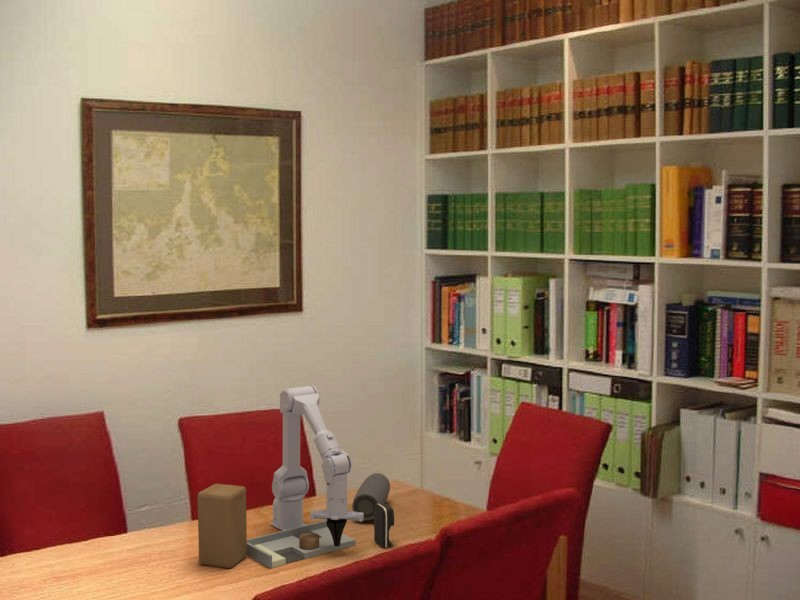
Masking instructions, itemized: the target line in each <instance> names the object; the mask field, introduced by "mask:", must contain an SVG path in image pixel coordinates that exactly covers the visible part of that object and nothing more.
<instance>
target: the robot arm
mask: <svg viewBox="0 0 800 600" xmlns="http://www.w3.org/2000/svg"><path fill="white" fill-rule="evenodd" d="M319 405H320V395H319V391H318V389H317V388H316V386H315V385H313V384H310V385H307V386H297V387H291V388H290V387H289V388H286V387H285V388H284V389H283V390H281V392H280V393H279V413H281V414H282V465H281V466H280V467H279V468H278V469H276V471H275V472H274V473H273V480H272V483H271V491H272V494H273V497H275V498H274V500H273V503H272V522H270V525H271V526H273V527H275V528H276V529H279V530H280V531H284V530H288V529H292V528H296V527H300V526H304V525H308V523H304V498H306V494H308V492H309V488H310V483H309V479H308V472H307V470H306V468H304V467H302V466H301V416H304V418H305V419H306V421H307V424H308V425H309V426H310V428H311V430H312V432H313V433H314V435H315V438H314V441H313V442H314V444H315V447H316V448H317V452H318V453H319V454H320V457H321V459H322V463H321V469H322V472H323V476H324V477H323V478H324V482H325V483H326V485H325V486H326V490H325V491H326V492H325V493H326V494H325V495H326V509H324V510H311V512H310V520H312V521H314V520H327V523H326V525H327V527H328V529H329V531H330V533H331V535H332V538H333V542H334V546H340V542H341V536H342V534H344V533H343V532H344V529H345V527H346V524H347V522H348V521H357V522H363V521H364V520H363V519H364V513H361V512H354V511H353V510H348V474H349V473H350V472H351V469H352V461H351V458H350V455H349V454H348V453H347V452H345V450H344V449H341V447H340V445H339V443H338V441H337V439H336V436H335V434H334V432H332V431H331V430H328V428H327V426H326V424H325V421H324V418H323V415H322V413H321V410H320V407H319Z"/></svg>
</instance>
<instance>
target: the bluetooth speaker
mask: <svg viewBox="0 0 800 600" xmlns="http://www.w3.org/2000/svg"><path fill="white" fill-rule="evenodd" d="M390 490H391V483H390V479H388V478H387V476H386V475H384V474H383V473H377V472H376V473H372V474H370V475H369V476H368V477H366V478H365V479H364V481H363V482H362V484H361V485H360V486H359V488H358V490H357V491H356V493H355V494H354V495H355V496H354V498H353V502H352V506H351V508H352V511H354V512H361V513H364V519H363V521H370V520H374V506H375V505H376V504H382V503H385V504H387V503H386V502H387V500H388V498H389V494H390Z"/></svg>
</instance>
